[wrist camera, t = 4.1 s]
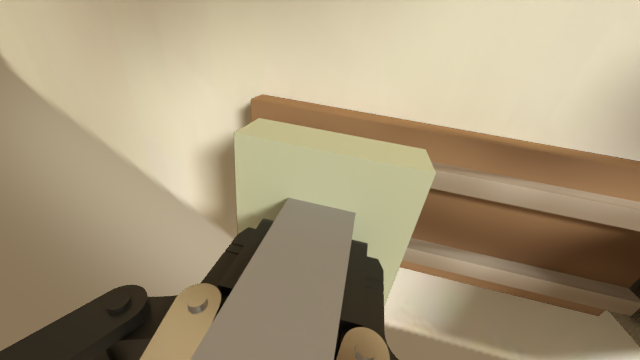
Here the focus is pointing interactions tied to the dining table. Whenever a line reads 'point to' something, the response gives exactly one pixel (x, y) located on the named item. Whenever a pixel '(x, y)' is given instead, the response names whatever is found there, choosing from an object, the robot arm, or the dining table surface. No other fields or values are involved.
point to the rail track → (509, 210)
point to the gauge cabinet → (635, 324)
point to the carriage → (311, 234)
